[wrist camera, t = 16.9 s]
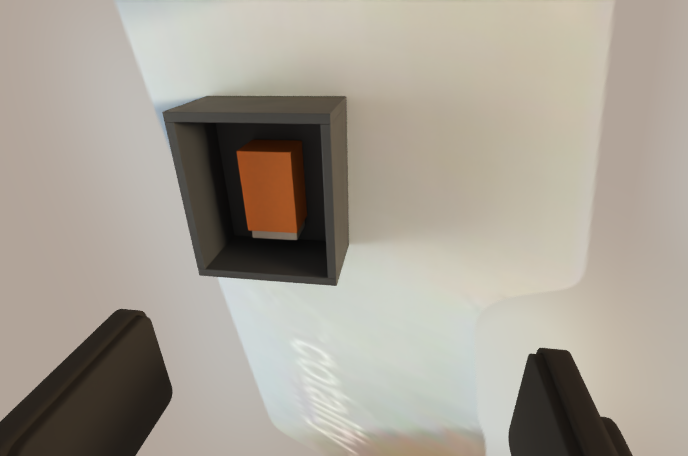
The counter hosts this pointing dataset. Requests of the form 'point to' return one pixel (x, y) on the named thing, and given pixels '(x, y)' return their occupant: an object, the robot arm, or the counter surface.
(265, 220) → the block
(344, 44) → the counter surface
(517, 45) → the counter surface
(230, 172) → the trash bin
